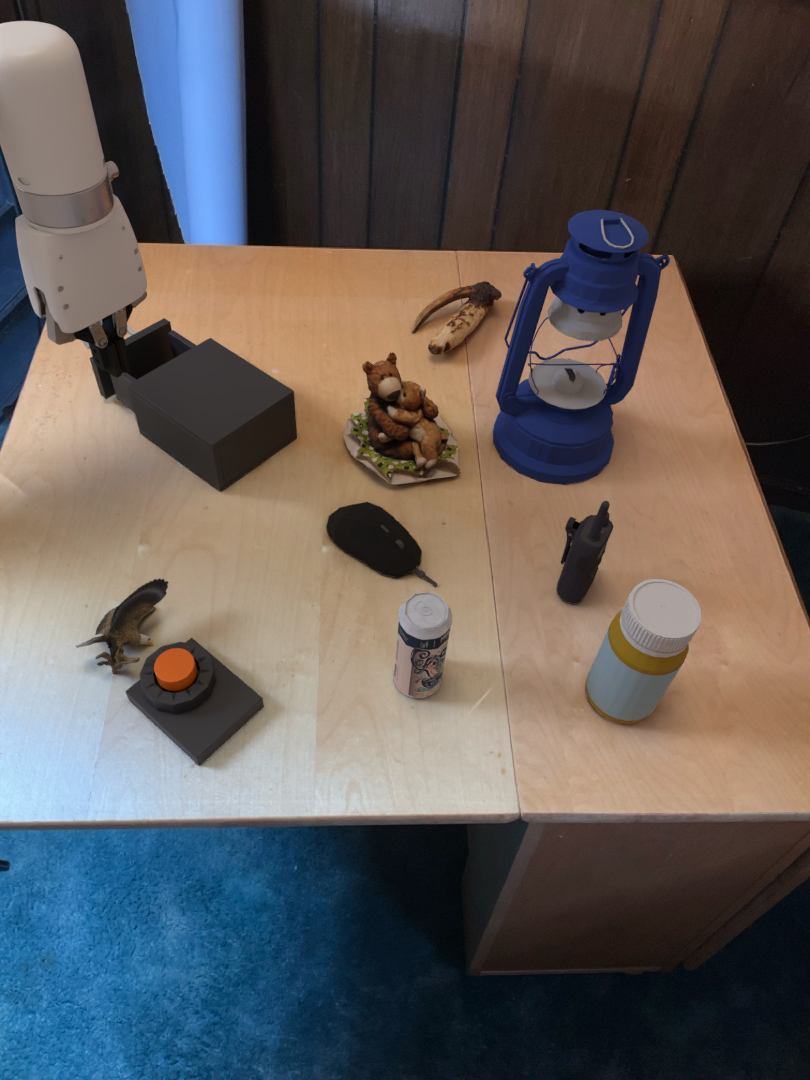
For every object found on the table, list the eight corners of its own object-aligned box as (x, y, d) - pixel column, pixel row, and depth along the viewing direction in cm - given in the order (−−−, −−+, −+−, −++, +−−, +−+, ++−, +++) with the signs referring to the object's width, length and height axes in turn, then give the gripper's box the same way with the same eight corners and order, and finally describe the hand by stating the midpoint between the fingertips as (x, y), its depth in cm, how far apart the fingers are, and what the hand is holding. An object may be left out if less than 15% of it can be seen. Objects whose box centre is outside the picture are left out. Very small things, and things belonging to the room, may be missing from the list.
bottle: (612, 651, 83) (656, 561, 71) (668, 697, 80) (723, 611, 68) (569, 690, 79) (607, 603, 68) (625, 740, 76) (675, 658, 65)
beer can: (418, 710, 77) (428, 643, 68) (382, 679, 79) (387, 610, 70) (451, 678, 80) (464, 609, 70) (415, 649, 81) (424, 578, 72)
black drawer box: (139, 433, 99) (126, 385, 93) (217, 385, 106) (210, 337, 100) (220, 492, 94) (211, 445, 88) (297, 438, 100) (294, 390, 94)
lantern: (504, 491, 96) (553, 266, 73) (471, 407, 105) (506, 184, 82) (637, 475, 99) (725, 254, 76) (594, 395, 108) (661, 176, 85)
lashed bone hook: (451, 290, 123) (392, 348, 113) (454, 261, 120) (393, 318, 109) (507, 308, 120) (451, 369, 110) (511, 279, 117) (454, 340, 106)
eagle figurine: (170, 674, 77) (189, 589, 81) (112, 648, 72) (135, 559, 76) (115, 684, 80) (135, 602, 85) (56, 659, 75) (81, 573, 79)
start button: (149, 675, 74) (145, 665, 73) (179, 650, 76) (176, 640, 75) (174, 698, 73) (171, 689, 72) (205, 672, 75) (202, 663, 74)
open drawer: (72, 374, 104) (59, 337, 99) (143, 335, 110) (134, 298, 105) (170, 446, 97) (162, 409, 92) (241, 400, 103) (236, 364, 98)
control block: (126, 698, 76) (118, 680, 74) (192, 644, 80) (187, 625, 78) (199, 766, 72) (193, 749, 70) (264, 706, 77) (261, 688, 74)
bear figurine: (375, 504, 94) (378, 426, 84) (329, 422, 102) (328, 343, 93) (479, 474, 98) (493, 396, 88) (427, 397, 106) (434, 319, 97)
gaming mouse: (418, 604, 85) (421, 582, 82) (315, 533, 90) (314, 509, 87) (454, 569, 88) (458, 546, 85) (352, 502, 94) (352, 478, 91)
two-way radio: (578, 612, 86) (614, 519, 74) (540, 594, 87) (569, 500, 75) (596, 576, 89) (633, 482, 77) (559, 559, 90) (590, 464, 78)
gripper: (108, 151, 73) (147, 321, 87) (-41, 212, 65) (28, 388, 80) (164, 179, 71) (194, 350, 85) (15, 246, 63) (76, 422, 77)
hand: (114, 368), depth 82 cm, fingers closed
